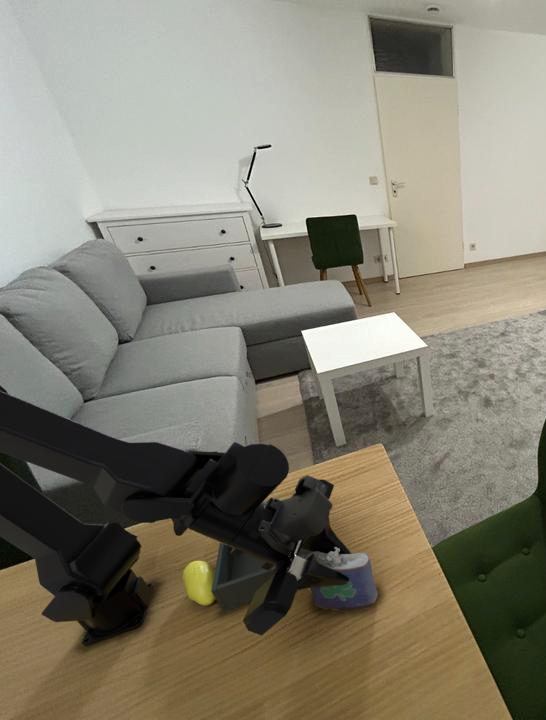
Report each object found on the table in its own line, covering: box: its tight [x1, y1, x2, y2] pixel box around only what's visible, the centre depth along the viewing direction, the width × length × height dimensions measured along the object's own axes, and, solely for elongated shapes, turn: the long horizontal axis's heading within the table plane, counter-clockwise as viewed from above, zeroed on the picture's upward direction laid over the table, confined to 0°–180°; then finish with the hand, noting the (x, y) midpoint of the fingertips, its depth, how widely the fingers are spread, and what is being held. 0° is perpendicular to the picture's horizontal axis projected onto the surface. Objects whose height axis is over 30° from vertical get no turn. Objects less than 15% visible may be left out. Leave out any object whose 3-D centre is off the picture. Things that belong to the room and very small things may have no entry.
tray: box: [211, 497, 311, 612], centre depth 62 cm, size 13×13×5 cm
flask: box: [304, 547, 378, 611], centre depth 54 cm, size 9×3×11 cm, turn 89°
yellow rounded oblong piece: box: [182, 560, 217, 607], centre depth 57 cm, size 4×8×4 cm
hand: (349, 570), depth 54 cm, fingers closed on flask, 3 cm apart
